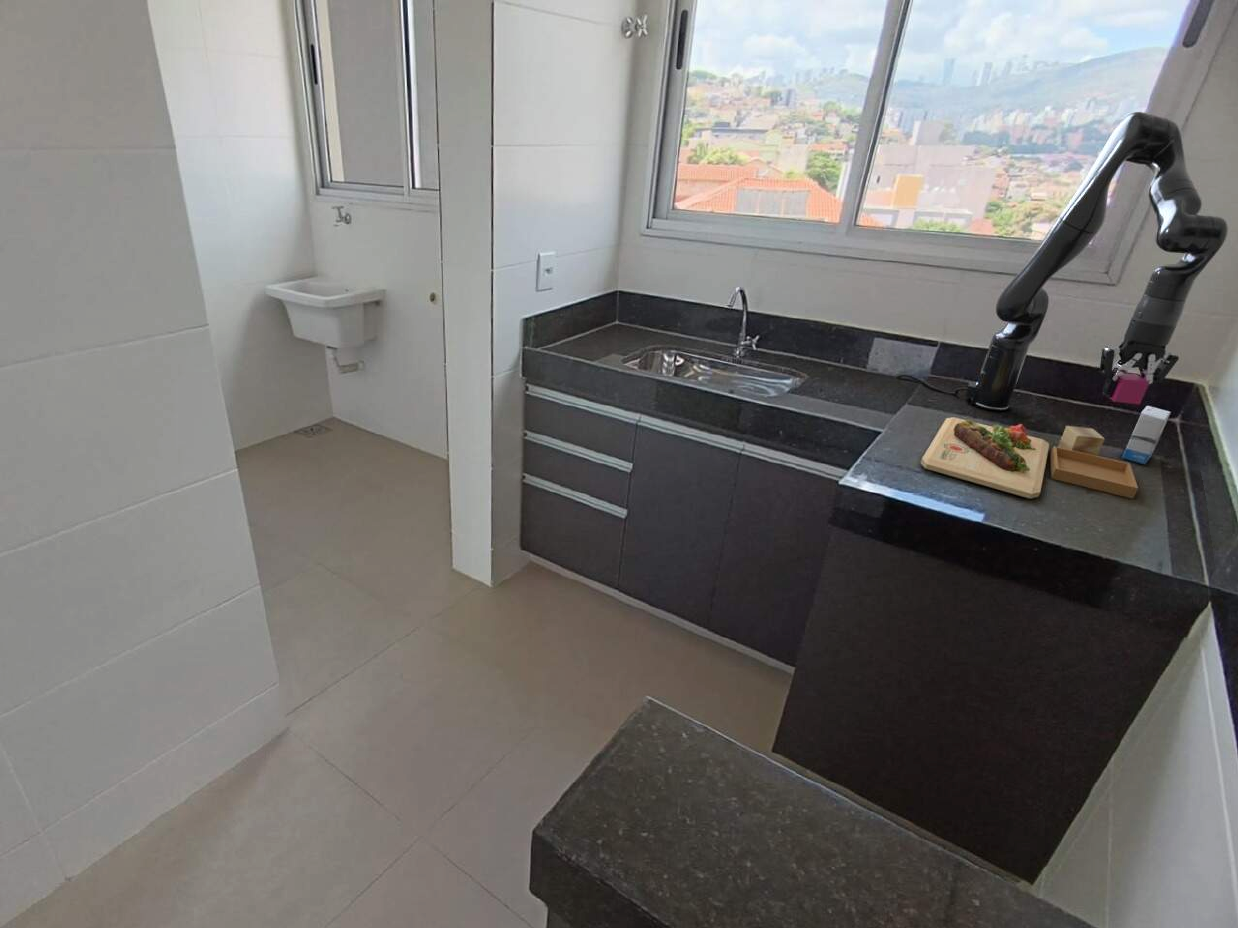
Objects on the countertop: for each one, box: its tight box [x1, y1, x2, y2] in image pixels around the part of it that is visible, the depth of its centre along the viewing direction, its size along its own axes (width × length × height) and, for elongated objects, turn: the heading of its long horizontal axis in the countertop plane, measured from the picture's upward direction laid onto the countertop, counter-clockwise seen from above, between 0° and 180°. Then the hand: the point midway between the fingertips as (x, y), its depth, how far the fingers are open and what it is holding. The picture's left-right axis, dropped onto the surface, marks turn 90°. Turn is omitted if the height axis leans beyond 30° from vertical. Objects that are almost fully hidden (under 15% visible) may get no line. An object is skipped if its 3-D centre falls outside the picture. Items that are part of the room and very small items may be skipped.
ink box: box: [1121, 405, 1172, 466], centre depth 157 cm, size 9×5×12 cm, turn 134°
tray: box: [1049, 445, 1139, 500], centre depth 147 cm, size 15×14×3 cm
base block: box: [1057, 425, 1105, 456], centre depth 157 cm, size 6×6×6 cm
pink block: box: [1102, 372, 1149, 405], centre depth 140 cm, size 5×5×5 cm
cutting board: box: [920, 417, 1050, 499], centre depth 152 cm, size 35×23×8 cm
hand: (1121, 397), depth 141 cm, fingers closed on pink block, 5 cm apart
